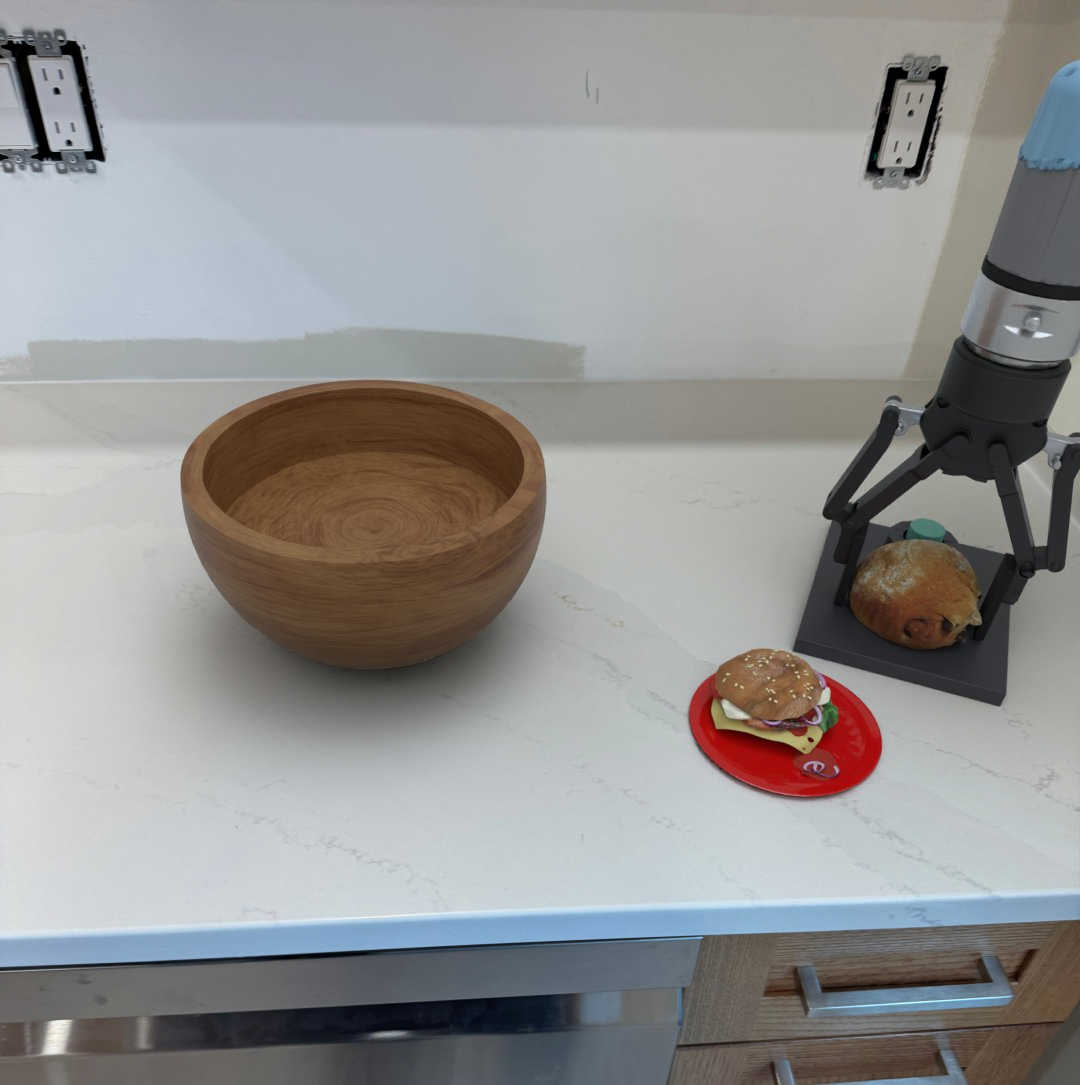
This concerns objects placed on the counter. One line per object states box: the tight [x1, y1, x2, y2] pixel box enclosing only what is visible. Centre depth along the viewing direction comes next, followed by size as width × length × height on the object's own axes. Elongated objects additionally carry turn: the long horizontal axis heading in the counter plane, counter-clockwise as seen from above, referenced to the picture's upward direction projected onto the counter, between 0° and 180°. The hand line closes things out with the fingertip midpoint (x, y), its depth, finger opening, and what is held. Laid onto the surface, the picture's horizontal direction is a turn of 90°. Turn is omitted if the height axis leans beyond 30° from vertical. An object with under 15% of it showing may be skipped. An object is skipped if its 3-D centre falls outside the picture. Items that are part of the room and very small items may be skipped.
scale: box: [791, 520, 1011, 707], centre depth 80 cm, size 16×20×3 cm
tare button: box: [905, 517, 947, 543], centre depth 84 cm, size 3×3×2 cm
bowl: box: [179, 379, 548, 670], centre depth 71 cm, size 25×25×15 cm
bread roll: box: [848, 539, 982, 650], centre depth 77 cm, size 10×10×8 cm
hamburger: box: [688, 646, 883, 797], centre depth 68 cm, size 14×14×6 cm
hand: (908, 612), depth 78 cm, fingers closed on bread roll, 10 cm apart
